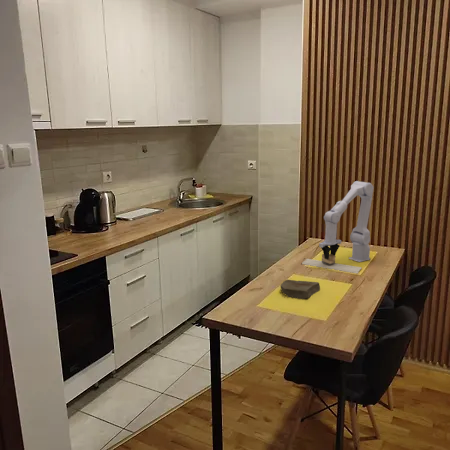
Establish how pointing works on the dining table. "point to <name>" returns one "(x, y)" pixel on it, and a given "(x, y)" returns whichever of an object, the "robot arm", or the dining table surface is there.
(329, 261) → the block
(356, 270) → the baseboard
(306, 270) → the dining table surface
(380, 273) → the dining table surface
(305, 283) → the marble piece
